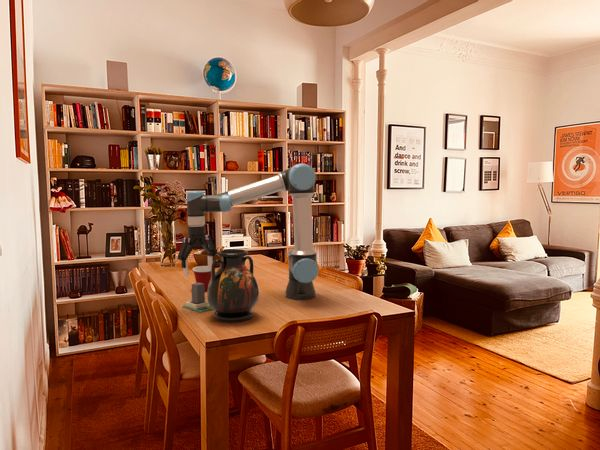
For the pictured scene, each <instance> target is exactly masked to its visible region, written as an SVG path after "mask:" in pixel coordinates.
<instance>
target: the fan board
mask: <svg viewBox="0 0 600 450" xmlns="http://www.w3.org/2000/svg"><path fill="white" fill-rule="evenodd" d="M184 304H185V305H182V308H184V309H187V310H191V311H194V312H197V313H200V314H201V313H204V312H208V311H212V310H214V309H213V308H212V307H211V306H210V304H209V302H208V300H205V303H201V304H193V303H192V297H191V298H189V301H185V302H184Z"/></svg>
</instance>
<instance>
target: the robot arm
mask: <svg viewBox="0 0 600 450" xmlns="http://www.w3.org/2000/svg"><path fill="white" fill-rule="evenodd" d="M316 179H317V176H316V173H315V170H314V168H312V166H311V165H309V164H306V163H302V162H301V163H297V164H294V165H293V166H291V167H289V168H287V169H285V170H283V171H279V172H278V173H277V175H274V176H271V177H267V178H265V179H261V180H258V181H255V182H252V183H248V184H246V185H242V186H241V187H237V188H234V189H231V190H228V191H224V192H222V193H218V194H217V193H216V194H213V195H212V194H211V195H207V194H205V193H204V191H203V190H194V191H193V190H192V191H189V190H188V192H187V193H186V212H187V213H186V214H187V225H188V227H187V234H188V237H183V238H182V243H181V246H180V248H179V252H178V253H177V257H176V260H179V261H181V262H180V263H181V268H182V274H183V276H187V277H188V276H189V261H188V258H189V256H190V254H191V252H192V251H193V249H195V248H198V247H202V249H203V250H204V251H205V252H206V254H208V255H207V266H208V270H211V266H212V263H213V261H214V260H215V258H214V257H215V256H216V255H217V252H218V251H217V249H216V247H215V244H214V243H213V241H212V236H211V235H212V234H206V226H205V225H206V215H205V214H206V213H225V212H231V211H232V208H233V207H235V206H237V205H240V204H244V203H247V202H251V201H253V200H256V199H260V198H263V197H265V196H268V195H272V194H276V193H278V192H280V191H284V192H288V194H289V195H290V197H291V198H292V212H293V213H292V214H293V215H292V218H293V219H292V221H293V241H294V242H293V244H294V245H293V246H294V247H293V248H294V249H293V250H290V251H289V252H288V257H287V258H288V282H287V285H286V289H285V293H284V296H285V297H286V298H287V299H292V300H311V299H313V298H315V297H316V296H317V294H316V293H317V291H316V289H315V286H314V282H313V281H314V280H315V279H316V278H317V277H318V275H319V271H320V270H319V265H318V263H317V261H318V260H317V251H316V250H315V249H314V243H313V242H314V240H313V239H314V237H313V211H312V210H313V209H312V208H313V206H312V197H313V196H314V195H315V183H316Z"/></svg>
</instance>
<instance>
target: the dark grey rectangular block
mask: <svg viewBox="0 0 600 450" xmlns="http://www.w3.org/2000/svg"><path fill="white" fill-rule="evenodd" d="M205 292H206V291H205V290H204V284H203V283H196V282H195V283H191V298H192V303H193V304H201V303H205V301H206V298H205V297H206V296H205V295H206V294H205Z"/></svg>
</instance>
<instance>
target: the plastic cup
mask: <svg viewBox="0 0 600 450" xmlns="http://www.w3.org/2000/svg"><path fill="white" fill-rule="evenodd" d="M192 271H193V274H194V279H195V283H203V284H204V290H205V292H207V289H208V285H209V282H210V279H211V270H208V265H199V266H195V267H192Z"/></svg>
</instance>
